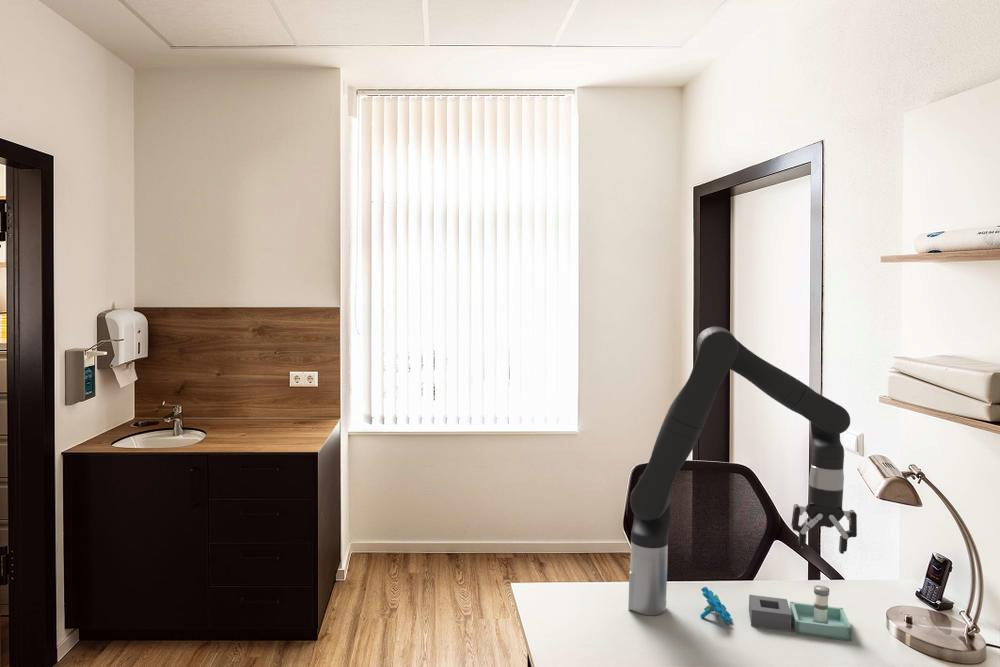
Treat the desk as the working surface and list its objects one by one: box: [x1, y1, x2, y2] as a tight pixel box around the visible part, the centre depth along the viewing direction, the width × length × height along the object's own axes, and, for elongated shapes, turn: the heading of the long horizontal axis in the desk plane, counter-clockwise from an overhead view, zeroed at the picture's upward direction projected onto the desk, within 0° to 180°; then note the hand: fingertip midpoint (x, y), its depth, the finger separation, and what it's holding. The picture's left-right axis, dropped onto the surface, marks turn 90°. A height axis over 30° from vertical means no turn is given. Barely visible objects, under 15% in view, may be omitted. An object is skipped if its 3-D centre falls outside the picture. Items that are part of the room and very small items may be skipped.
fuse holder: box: [748, 594, 792, 632], centre depth 177 cm, size 9×9×4 cm
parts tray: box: [789, 601, 853, 642], centre depth 174 cm, size 12×11×3 cm
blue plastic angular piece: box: [699, 586, 733, 624], centre depth 177 cm, size 11×6×10 cm
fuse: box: [813, 585, 830, 624], centre depth 173 cm, size 3×3×9 cm
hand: (822, 550), depth 173 cm, fingers open, 8 cm apart
